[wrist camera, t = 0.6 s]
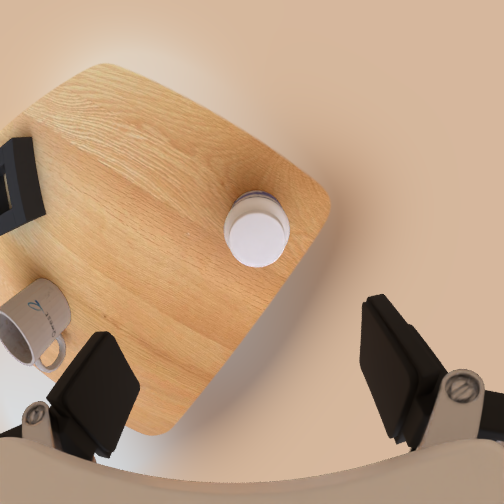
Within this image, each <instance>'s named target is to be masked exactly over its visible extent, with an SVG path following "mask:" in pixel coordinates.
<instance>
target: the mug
mask: <svg viewBox="0 0 504 504" xmlns="http://www.w3.org/2000/svg"><path fill="white" fill-rule="evenodd" d="M70 320H71V312H70V308H69V305H68V302H67V300H66V298H65V297H64V295H63V294H62V292H61V291H60V290H59V288H58V287H57V286H56V285H55V284H53V283H52V282H51V281H49V280H47V279H43V278H39V279H37V280H35V281H34V282H33V283H31V284H30V285H28V286H27V287H26V288H24V289H23V290H22V291H20V292H19V293H18V294H16V295H15V296H14V297H12V298H11V299H10V300H9V301H7V302H6V303H5V304H3V305H2V306H1V307H0V340H1V342H2V344H3V345H4V347H5V348H6V349H7V351H8V352H9V353H10V354H11V355H12V356H13V357H14V358H15V359H16V360H17V361H19V362H20V363H22V364H24V365H26V366H32V365H33V364H34V363H35V365H36V366H37V367H38V368H39V369H40V370H41V371H43V372H48V373H50V372H52V371H55V370H56V369H57V368H58V367H59V366H60V365H61V363H62V362H63V360H64V357H65V355H66V344H65V341H64V338H63V337H62V335H61V332H62V331H63V330H64V329H65V328H66V327H67V326H68V325H69V323H70ZM55 339H56V340H57V341H58V343H59V354H58V357H57V359H56V360H55V362H54V363H53V364H52V365H50V366H48V367H45V366H44V365H43V364H42V362H41V359H40V356H41V355H42V354H43V353H44V351H45V350H46V349H47V348H48V347H49V346H50V345H51V344H52V342H53V341H54V340H55Z"/></svg>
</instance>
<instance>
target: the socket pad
mask: <svg viewBox="0 0 504 504" xmlns="http://www.w3.org/2000/svg"><path fill="white" fill-rule="evenodd" d="M4 174H6V179H7V184H8V190H9V195H10V200H11V205H12V208H11V209H10V208H9V204H8V199H7V194H6V189H5V183H4V177H3V175H4ZM43 215H46V213H45V209H44V205H43V201H42V196H41V192H40V187H39V182H38V176H37V171H36V165H35V158H34V151H33V143H32V137H17V138H11V139H10V140H9V141H7V142H6V143H5V144H4V145H3V146H2V147H1V148H0V236H1V235H3V234H5V233H7V232H9V231H11V230H13V229H15V228H18V227H20V226H22V225H24V224H26V223H28V222H30V221H32V220H34V219H37V218H39V217H41V216H43Z"/></svg>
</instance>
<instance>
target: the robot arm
mask: <svg viewBox="0 0 504 504" xmlns="http://www.w3.org/2000/svg"><path fill="white" fill-rule="evenodd" d="M360 366H361V370H362V372H363V374H364V377H365V379H366V381H367V384H368V386H369V389H370V391H371V394H372V396H373V399H374V401H375V404H376V406H377V409H378V411H379V414H380V416H381V419H382V422H383V424H384V427H385V429H386V432H387V435H388V436H389V438H394V439H395V442H396V444H399V443H402V442H405V441H406V442H407V445H408V447H411V448H410V451H409V453H407V454H404V455H400V456H397V457H394V458H390V459H387V460H384V461H380V462H376V463H373V464H369V465H366V466H362V467H358V468H354V469H350V470H345V471H341V472H336V473H331V474H326V475H320V476H313V477H307V478H300V479H293V480H283V481H272V482H256V483H211V482H196V481H184V480H175V479H167V478H161V477H153V476H148V475H143V474H138V473H133V472H128V471H124V470H120V469H116V468H112V467H108V466H104V465H101V464H97V463H96V460H95V457H94V453H96V454H97V455H98V456H101V457H105V458H110V455H111V453H112V452H113V451H114V450H115V449H116V446H117V443H118V441H119V438H120V436H121V433H122V431H123V429H124V426H125V424H126V421H127V419H128V417H129V414H130V412H131V409H132V407H133V405H134V402H135V400H136V398H137V396H138V393H139V391H140V384H139V382H138V380H137V378H136V377H135V375H134V373H133V371H132V370H131V368H130V366H129V364H128V363H127V361H126V359H125V357H124V355H123V353H122V351H121V349H120V347H119V345H118V344H117V342H116V340H115V338H114V336H113V335H111V334H110V333H109V332H107V331H104V332H95V333H94V334H93V335H92V336H91V338H90V339H89V340H88V341H87V343H86V344H85V345H84V346H83V348H82V349H81V350H80V352H79V353H78V354H77V356H76V357H75V358H74V360H73V361H72V362H71V364H70V365H69V366H68V368H67V369H66V370H65V372H64V373H63V374H62V376H61V377H60V379H59V380H58V381H57V383H56V384H55V386H54V387H53V389H52V390H51V391H50V393H49V394H48V396H47V397H46V399H47V400H48V401H49V402H50V404H51V407H50V408H49V406H48V405H47V404H46V403H45V402H43V401H38V402H34V403H33V404H31V405H30V406H28V407H27V408H26V410H25V411H24V413H23V416H22V424H21V425H19V426H17V427H15V428H12V429H10V430H8V431H6V432H3V433H1V434H0V504H504V394H503V393H497V392H492V391H487V390H485V389H484V383H483V380H482V379H481V377H479V375H478V374H476V373H475V372H473V371H471V370H467V369H458V370H453V371H451V372H449V373H448V372H447V371H446V369H445V368H444V366H443V365H442V364H441V362H440V361H439V359H438V358H437V357H436V355H435V354H434V353H433V351H432V350H431V349H430V347H429V346H428V345H427V343H426V342H425V341H424V339H423V338H422V337H421V336H420V334H419V333H418V332H417V330H416V329H415V328H414V327H413V326H412V325H410V324H407V322H406V321H405V320H404V319H403V317H402V316H401V315H400V314H399V312H398V311H397V310H396V309H395V307H394V306H393V305H392V303H391V302H390V301H389V300H388V299H387V297H386V296H385V295H384V294H380V295H375V296H371V297H368V298H367V301H366V302H363V304H362V326H361V346H360Z"/></svg>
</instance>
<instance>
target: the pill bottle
mask: <svg viewBox="0 0 504 504" xmlns="http://www.w3.org/2000/svg"><path fill="white" fill-rule="evenodd" d="M289 235H290V225H289V221H288V218H287V215H286V213H285V212H284V210H283V208H282V207H281V205H280V203H279V202H278V200H277V199H276V198H275V197H274V196H273V195H271V194H269V193H267V192H265V191H260V190H254V191H249V192H246V193H244V194H242V195H241V196H240V197H238V198H237V200H236V201H235V202H234V204H233V206H232V208H231V210H230V212H229V213H228V215H227V217H226V220H225V223H224V237H225V241H226V243H227V245H228V247H229V248H230V250H231V252H232V254H233V256H234V257H235V258H236V259H237V260H238V261H239V262H241V263H242V264H244V265H247V266H250V267H264V266H267V265H270V264H272V263H273V262H275V261H276V260H277V259H278V258H279V257H280V255H281V254H282V252H283V250H284V247H285V246H286V244H287V242H288V239H289Z"/></svg>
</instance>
